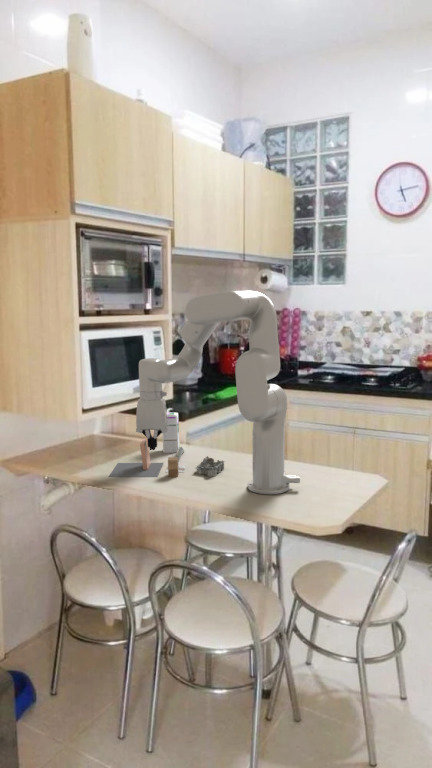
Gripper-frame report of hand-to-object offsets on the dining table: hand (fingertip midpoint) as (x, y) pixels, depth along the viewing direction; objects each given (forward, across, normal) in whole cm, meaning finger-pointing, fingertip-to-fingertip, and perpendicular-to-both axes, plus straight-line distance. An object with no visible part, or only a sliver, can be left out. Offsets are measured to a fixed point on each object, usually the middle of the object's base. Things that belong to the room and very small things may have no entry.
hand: (152, 449), depth 200 cm
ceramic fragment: (+7, -7, -12) cm, 16 cm away
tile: (+6, +2, 0) cm, 6 cm away
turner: (+7, -8, +5) cm, 12 cm away
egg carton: (+7, -20, +4) cm, 21 cm away
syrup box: (+7, -4, -21) cm, 22 cm away
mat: (+7, +5, +3) cm, 9 cm away
